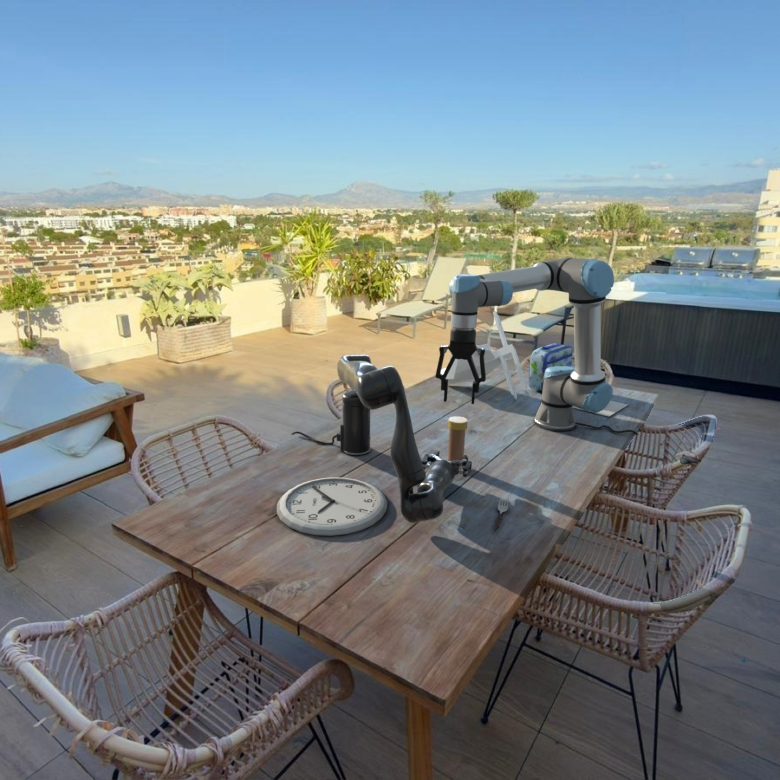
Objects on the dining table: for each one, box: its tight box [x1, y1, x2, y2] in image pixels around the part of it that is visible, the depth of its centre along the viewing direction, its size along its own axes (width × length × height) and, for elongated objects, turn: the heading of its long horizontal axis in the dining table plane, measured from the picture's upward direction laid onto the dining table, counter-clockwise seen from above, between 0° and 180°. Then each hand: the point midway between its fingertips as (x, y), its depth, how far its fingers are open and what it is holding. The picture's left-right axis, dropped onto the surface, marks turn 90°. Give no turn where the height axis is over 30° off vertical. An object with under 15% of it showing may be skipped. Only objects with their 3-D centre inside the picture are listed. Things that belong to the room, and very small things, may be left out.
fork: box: [494, 496, 510, 532], centre depth 138 cm, size 3×16×2 cm, turn 160°
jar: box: [447, 428, 466, 466], centre depth 165 cm, size 5×5×16 cm
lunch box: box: [528, 343, 574, 392], centre depth 249 cm, size 26×11×21 cm, turn 134°
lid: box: [447, 415, 468, 431], centre depth 163 cm, size 6×6×2 cm
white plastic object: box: [440, 310, 531, 400], centre depth 245 cm, size 37×45×31 cm
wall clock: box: [276, 476, 388, 537], centre depth 142 cm, size 30×2×30 cm
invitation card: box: [573, 400, 629, 418], centre depth 226 cm, size 21×1×15 cm
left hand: (451, 455), depth 160 cm, fingers open, 8 cm apart
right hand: (459, 401), depth 161 cm, fingers open, 8 cm apart
